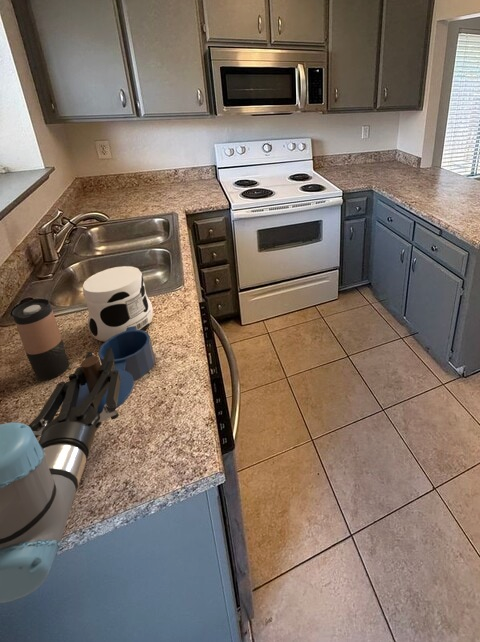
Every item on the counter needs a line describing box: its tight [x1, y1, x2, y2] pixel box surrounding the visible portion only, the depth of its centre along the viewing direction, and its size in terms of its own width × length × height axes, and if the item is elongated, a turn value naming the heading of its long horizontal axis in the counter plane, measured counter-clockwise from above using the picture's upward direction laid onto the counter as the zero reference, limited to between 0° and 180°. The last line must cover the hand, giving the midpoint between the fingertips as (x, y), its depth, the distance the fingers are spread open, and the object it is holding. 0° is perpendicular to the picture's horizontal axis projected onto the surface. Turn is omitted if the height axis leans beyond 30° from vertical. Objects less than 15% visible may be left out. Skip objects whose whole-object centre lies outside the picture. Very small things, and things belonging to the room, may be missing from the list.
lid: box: [61, 355, 135, 414], centre depth 71 cm, size 13×13×9 cm
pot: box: [97, 326, 156, 382], centre depth 94 cm, size 12×17×8 cm
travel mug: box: [11, 298, 69, 382], centre depth 92 cm, size 8×8×20 cm
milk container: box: [82, 265, 154, 343], centre depth 108 cm, size 17×17×18 cm
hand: (101, 355), depth 76 cm, fingers closed on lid, 3 cm apart
